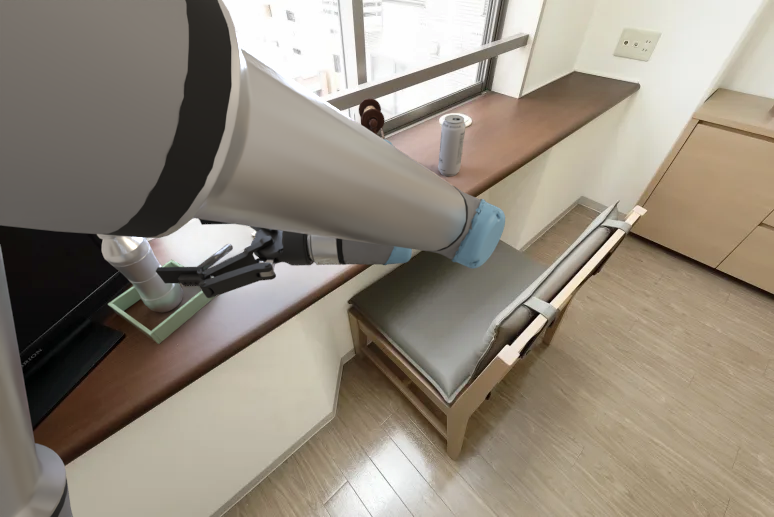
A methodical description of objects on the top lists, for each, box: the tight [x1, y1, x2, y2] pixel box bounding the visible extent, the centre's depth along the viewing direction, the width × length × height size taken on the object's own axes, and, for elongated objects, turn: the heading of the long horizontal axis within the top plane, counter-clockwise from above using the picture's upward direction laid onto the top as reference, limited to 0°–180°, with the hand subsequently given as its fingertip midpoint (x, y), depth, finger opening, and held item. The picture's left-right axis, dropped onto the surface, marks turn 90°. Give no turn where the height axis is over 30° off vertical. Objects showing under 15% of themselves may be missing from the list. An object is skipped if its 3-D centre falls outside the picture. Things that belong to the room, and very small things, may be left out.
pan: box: [107, 243, 234, 345], centre depth 67 cm, size 23×13×3 cm, turn 149°
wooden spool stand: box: [358, 97, 386, 140], centre depth 88 cm, size 15×15×20 cm
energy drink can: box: [437, 114, 467, 177], centre depth 90 cm, size 6×6×15 cm
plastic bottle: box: [96, 234, 184, 313], centre depth 58 cm, size 6×7×20 cm
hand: (181, 243), depth 54 cm, fingers open, 13 cm apart
